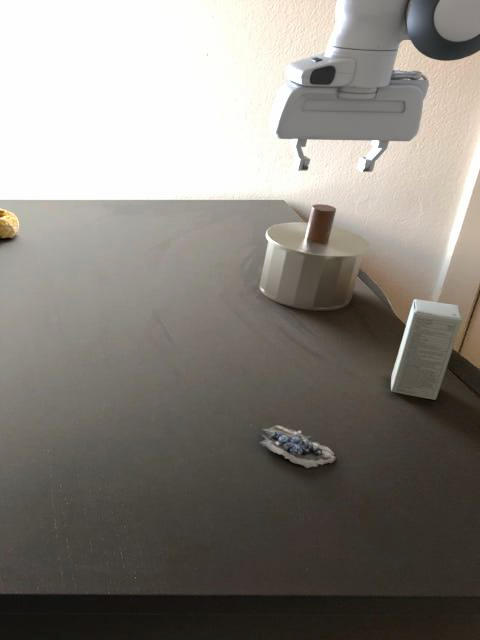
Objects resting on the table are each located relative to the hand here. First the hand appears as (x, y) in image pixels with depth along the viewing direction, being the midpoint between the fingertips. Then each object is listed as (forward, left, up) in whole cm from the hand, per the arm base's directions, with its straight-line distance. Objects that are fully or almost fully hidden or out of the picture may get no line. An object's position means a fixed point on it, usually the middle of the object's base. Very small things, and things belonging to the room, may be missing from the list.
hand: (332, 170), depth 108 cm
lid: (0, 0, -11) cm, 11 cm away
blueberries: (+16, +42, -20) cm, 49 cm away
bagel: (+50, -26, -20) cm, 60 cm away
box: (-3, +29, -20) cm, 35 cm away
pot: (0, 0, -20) cm, 20 cm away
